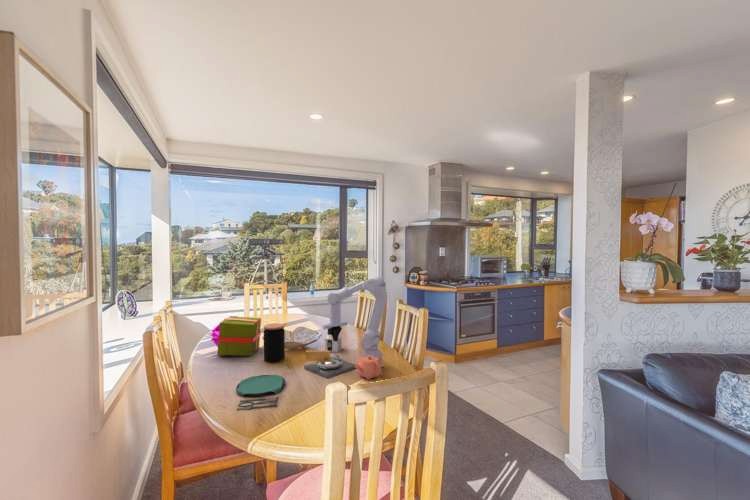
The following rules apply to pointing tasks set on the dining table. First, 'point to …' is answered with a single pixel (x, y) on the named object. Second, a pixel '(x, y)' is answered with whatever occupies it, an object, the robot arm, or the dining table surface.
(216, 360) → the dining table surface
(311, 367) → the base plate
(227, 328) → the gift box
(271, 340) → the coffee jar
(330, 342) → the container
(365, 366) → the pumpkin
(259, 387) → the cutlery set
